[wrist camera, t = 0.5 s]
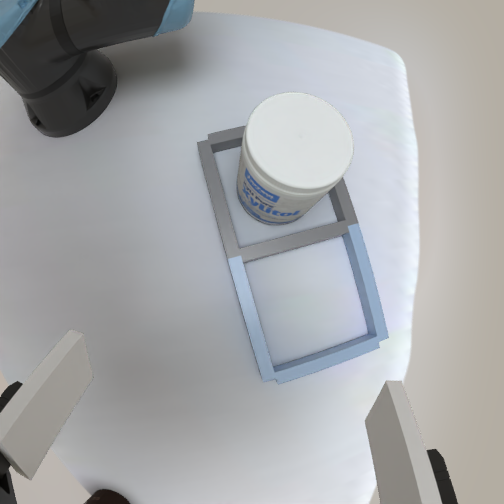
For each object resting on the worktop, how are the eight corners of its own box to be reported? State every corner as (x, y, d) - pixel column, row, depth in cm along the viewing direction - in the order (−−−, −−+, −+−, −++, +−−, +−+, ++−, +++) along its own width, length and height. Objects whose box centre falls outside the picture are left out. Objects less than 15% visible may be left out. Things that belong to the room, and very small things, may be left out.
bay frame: (197, 145, 39) (195, 137, 37) (313, 121, 41) (317, 112, 38) (263, 382, 36) (265, 388, 34) (381, 340, 38) (389, 343, 35)
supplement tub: (231, 220, 38) (232, 180, 24) (242, 149, 39) (248, 81, 25) (310, 231, 39) (355, 199, 24) (316, 161, 40) (355, 102, 25)
